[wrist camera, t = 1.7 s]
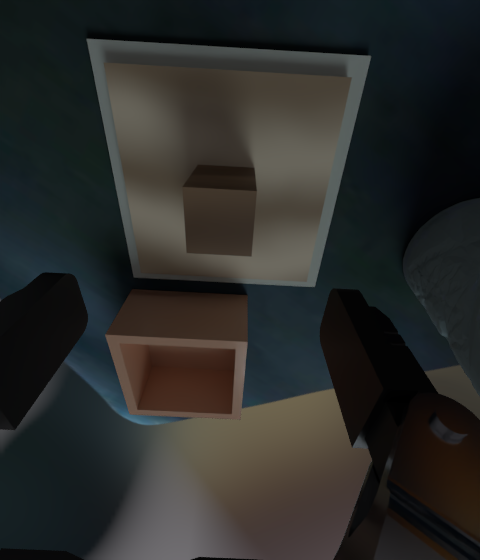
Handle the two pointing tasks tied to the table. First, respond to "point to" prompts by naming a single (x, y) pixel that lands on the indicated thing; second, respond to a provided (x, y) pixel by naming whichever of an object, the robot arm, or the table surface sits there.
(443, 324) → the grey cup
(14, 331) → the robot arm
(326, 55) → the tray
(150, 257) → the lid
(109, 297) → the table surface
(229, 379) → the open square box
